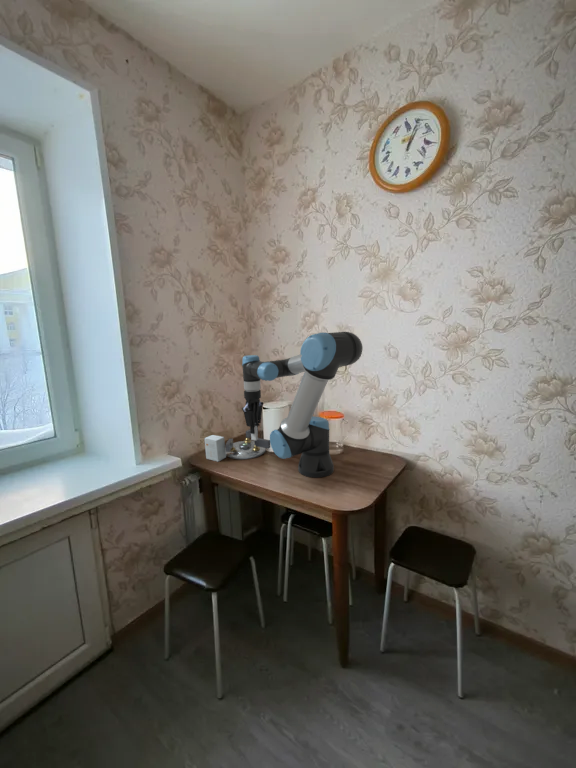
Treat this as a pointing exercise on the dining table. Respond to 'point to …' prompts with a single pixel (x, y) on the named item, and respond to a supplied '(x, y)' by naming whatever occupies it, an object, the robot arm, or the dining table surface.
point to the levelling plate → (244, 451)
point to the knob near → (261, 444)
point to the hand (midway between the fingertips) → (254, 439)
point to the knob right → (247, 437)
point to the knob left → (229, 445)
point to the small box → (215, 448)
